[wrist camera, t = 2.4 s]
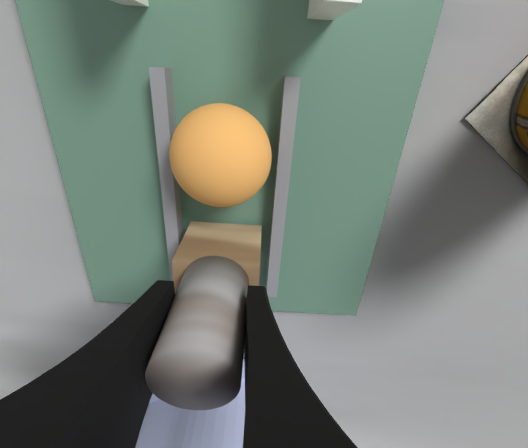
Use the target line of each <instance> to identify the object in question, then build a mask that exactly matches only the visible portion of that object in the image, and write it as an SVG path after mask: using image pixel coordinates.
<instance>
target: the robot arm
mask: <svg viewBox="0 0 528 448" xmlns="http://www.w3.org/2000/svg"><path fill="white" fill-rule="evenodd" d="M174 297H175V289H174V281H165V280H157V281H156V282H155V283H154V284H153V285H152V286H151V287H150V288H149V289H148V290H147V291H146V292H145V293H144V294H143V295H142V296H141V297H140V298H138V299H137V300H136V301H135V302H134V303H133V304H132V305H131V306H130V307H129V308H128V309H127V310H126V311H125V312H124V313H122V314H121V315H120V316H119V317H118V318H117V319H116V320H115V321H114V322H112V323H111V324H110V325H109V326H108V327H107V328H105V329H104V330H103V331H102V332H101V333H99V334H98V335H97V336H96V337H95V338H93V339H92V340H91V341H90V342H88V343H87V344H86V345H84V346H83V347H82V348H80V349H79V350H78V351H76V352H75V353H74V354H72V355H71V356H70V357H68V358H67V359H65V360H64V361H62V362H61V363H60V364H58V365H56V366H55V367H53V368H52V369H50V370H49V371H47V372H46V373H44V374H42V375H41V376H39V377H38V378H36V379H35V380H33V381H32V382H30V383H28V384H27V385H25V386H23V387H22V388H20V389H18V390H17V391H15V392H13V393H11V394H10V395H8V396H6V397H4V398H3V399H1V400H0V448H357V447H356V445H355V444H354V443H353V442H352V441H351V440H350V438H349V437H348V436H347V435H346V434H345V432H344V431H343V430H342V429H341V428H340V426H339V425H338V424H337V422H336V421H335V420H334V419H333V417H332V416H331V415H330V414H329V412H328V411H327V409H326V408H325V407H324V405H323V404H322V402H321V401H320V400H319V398H318V397H317V395H316V394H315V393H314V391H313V390H312V388H311V387H310V385H309V384H308V382H307V381H306V379H305V377H304V376H303V374H302V373H301V371H300V369H299V368H298V366H297V364H296V362H295V361H294V359H293V357H292V355H291V353H290V351H289V349H288V347H287V345H286V343H285V341H284V339H283V337H282V335H281V333H280V330H279V328H278V325H277V323H276V320H275V318H274V315H273V312H272V309H271V306H270V303H269V299H268V295H267V289H266V288H265V287H264V286H253V285H248V290H247V302H246V331H245V344H244V359H243V368H242V380H241V389H240V391H239V393H238V395H237V396H236V397H235V399H233V400H232V401H231V402H229V403H228V404H226V405H224V406H222V407H219V408H215V409H210V410H188V409H182V408H178V407H175V406H172V405H170V404H167V403H166V402H164V401H162V400H160V399H159V398H158V397H156V396H155V395H154V394H153V393H152V392H151V391H150V389H149V388H148V386H147V384H146V381H145V371H146V369H147V366H148V363H149V361H150V358H151V356H152V353H153V351H154V348H155V346H156V343H157V341H158V338H159V336H160V333H161V330H162V328H163V325H164V323H165V320H166V318H167V315H168V313H169V310H170V308H171V305H172V303H173V300H174ZM148 404H149V406H148ZM147 407H148V409H147ZM146 410H147V411H146ZM145 413H146V414H145ZM144 416H145V417H144ZM143 419H144V420H143Z"/></svg>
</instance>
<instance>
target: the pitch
mask: <svg viewBox="0 0 528 448" xmlns="http://www.w3.org/2000/svg"><path fill="white" fill-rule="evenodd" d="M15 1H16V5H17V9H18V13H19V16H20V20H21V24H22V28H23V32H24V35H25V39H26V43H27V47H28V51H29V54H30V58H31V62H32V66H33V69H34V73H35V77H36V81H37V85H38V88H39V92H40V96H41V100H42V104H43V107H44V111H45V115H46V119H47V123H48V126H49V130H50V134H51V138H52V141H53V145H54V149H55V153H56V157H57V160H58V164H59V168H60V172H61V176H62V179H63V183H64V187H65V191H66V194H67V198H68V202H69V206H70V210H71V213H72V217H73V221H74V225H75V229H76V232H77V236H78V240H79V244H80V248H81V251H82V255H83V259H84V263H85V266H86V270H87V274H88V278H89V282H90V285H91V289H92V293H93V297H94V301H102V302H120V303H134V302H135V301H136V300H137V299H138V298H140V297H141V296H142V295H143V294H144V293H145V292H146V291H147V290H148V289H149V288H150V287H151V286H152V285H153V284H154V283H155V282H156V281H157V280H165V281H174V280H173V270H172V260H173V257H174V255H175V253H176V251H177V249H178V247H179V245H180V243H181V241H182V239H183V237H184V235H185V232H186V230H187V228H188V226H189V224H190V222H191V221H196V222H212V223H228V224H245V225H261V226H262V228H261V255H260V275H259V286H264V287H265V288H266V289H267V295H268V299H269V303H270V306H271V309H272V311H283V312H301V313H319V314H337V315H355V316H356V314H357V310H358V307H359V303H360V299H361V296H362V292H363V289H364V285H365V282H366V278H367V274H368V271H369V267H370V264H371V260H372V257H373V253H374V249H375V246H376V242H377V239H378V235H379V232H380V228H381V225H382V221H383V217H384V214H385V210H386V207H387V203H388V200H389V196H390V192H391V189H392V185H393V182H394V178H395V175H396V171H397V167H398V164H399V160H400V157H401V153H402V150H403V146H404V142H405V139H406V135H407V132H408V128H409V125H410V121H411V117H412V114H413V110H414V107H415V103H416V100H417V96H418V93H419V89H420V85H421V82H422V78H423V75H424V71H425V68H426V64H427V60H428V57H429V53H430V50H431V46H432V43H433V39H434V35H435V32H436V28H437V25H438V21H439V18H440V14H441V10H442V7H443V3H444V0H362V3H361V4H359V5H358V6H356V7H354V8H353V9H351V10H349V11H348V12H346V13H345V14H343V15H341V16H340V17H338V18H336V19H335V20H319V19H307V15H308V6H309V0H148V4H149V7H146V6H133V5H122V4H119V3H116V2H114V1H111V0H15ZM213 103H225V104H231V105H234V106H237V107H239V108H242V109H244V110H245V111H247V112H249V113H250V114H251V115H252V116H254V117H255V118H256V119H257V120H258V121H259V123H260V124H261V125H262V127H263V128H264V130H265V132H266V134H267V136H268V139H269V142H270V146H271V152H272V161H271V168H270V172H269V175H268V177H267V179H266V181H265V183H264V185H263V186H262V188H261V189H260V190H259V191H258V192H257V193H256V194H255V195H254V196H253V197H251V198H250V199H249V200H247V201H245V202H243V203H241V204H238V205H235V206H230V207H214V206H210V205H206V204H203V203H201V202H199V201H197V200H195V199H194V198H192V197H191V196H190V195H188V194H187V193H186V192H185V191H184V190H183V189H182V188H181V186H180V185H179V184H178V182H177V180H176V179H175V177H174V174H173V172H172V169H171V165H170V159H169V149H170V142H171V139H172V135H173V133H174V131H175V129H176V127H177V126H178V124H179V123H180V122H181V120H182V119H183V118H184V117H185V116H186V115H187V114H188V113H190V112H191V111H193V110H194V109H197V108H199V107H201V106H204V105H208V104H213Z"/></svg>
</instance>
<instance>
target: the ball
mask: <svg viewBox="0 0 528 448" xmlns="http://www.w3.org/2000/svg"><path fill="white" fill-rule="evenodd" d="M169 159H170V165H171V169H172V172H173V174H174V177H175V179H176V180H177V182H178V184H179V185H180V186H181V188H182V189H183V190H184V191H185V192H186V193H187V194H188V195H190V196H191V197H192V198H194V199H195V200H197V201H199V202H201V203H203V204H206V205H210V206H214V207H230V206H235V205H238V204H241V203H243V202H245V201H247V200H249V199H250V198H251V197H253V196H254V195H255V194H256V193H257V192H258V191H259V190H260V189H261V188H262V186H263V185H264V183H265V181H266V179H267V177H268V175H269V172H270V168H271V161H272V152H271V146H270V142H269V139H268V136H267V134H266V132H265V130H264V128H263V127H262V125H261V124H260V123H259V121H258V120H257V119H256V118H255V117H254V116H252V115H251V114H250V113H249V112H247V111H245V110H244V109H242V108H239V107H237V106H234V105H231V104H225V103H213V104H208V105H204V106H201V107H199V108H197V109H194V110H193V111H191V112H190V113H188V114H187V115H186V116H185V117H184V118H183V119H182V120H181V122H180V123H179V124H178V126H177V127H176V129H175V131H174V133H173V135H172V139H171V142H170V149H169Z"/></svg>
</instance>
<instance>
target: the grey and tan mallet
mask: <svg viewBox="0 0 528 448" xmlns="http://www.w3.org/2000/svg"><path fill="white" fill-rule="evenodd" d="M261 228H262V226H261V225H245V224H228V223H212V222H196V221H191V222H190V224H189V226H188V228H187V230H186V232H185V235H184V237H183V239H182V241H181V243H180V245H179V247H178V249H177V251H176V253H175V255H174V257H173V260H172V270H173V280H174V289H175V297H174V300H173V303H172V305H171V308H170V310H169V313H168V315H167V318H166V320H165V323H164V325H163V328H162V330H161V333H160V336H159V338H158V341H157V343H156V346H155V348H154V351H153V353H152V356H151V358H150V361H149V363H148V366H147V369H146V371H145V381H146V384H147V386H148V388H149V389H150V391H151V392H152V393H153V394H154V395H155V396H156V397H158V398H159V399H160V400H162V401H164V402H166V403H167V404H170V405H172V406H175V407H178V408H182V409H188V410H210V409H215V408H219V407H222V406H224V405H226V404H228V403H229V402H231V401H232V400H233V399H235V397H236V396H237V395H238V393H239V391H240V389H241V380H242V368H243V356H244V344H245V331H246V302H247V290H248V285H253V286H259V275H260V255H261Z"/></svg>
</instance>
